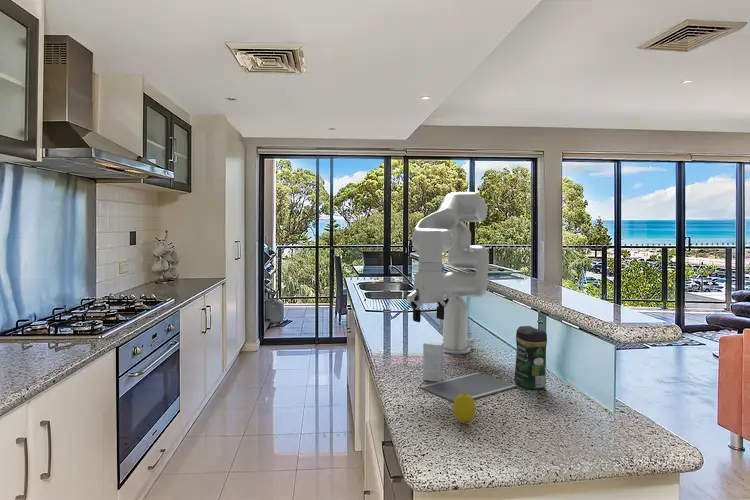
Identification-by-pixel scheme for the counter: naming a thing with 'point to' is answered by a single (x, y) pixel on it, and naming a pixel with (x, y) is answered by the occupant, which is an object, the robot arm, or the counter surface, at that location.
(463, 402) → the lemon
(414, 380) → the counter surface
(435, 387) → the mat
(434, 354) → the skincare box
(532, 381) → the coffee jar
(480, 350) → the counter surface
